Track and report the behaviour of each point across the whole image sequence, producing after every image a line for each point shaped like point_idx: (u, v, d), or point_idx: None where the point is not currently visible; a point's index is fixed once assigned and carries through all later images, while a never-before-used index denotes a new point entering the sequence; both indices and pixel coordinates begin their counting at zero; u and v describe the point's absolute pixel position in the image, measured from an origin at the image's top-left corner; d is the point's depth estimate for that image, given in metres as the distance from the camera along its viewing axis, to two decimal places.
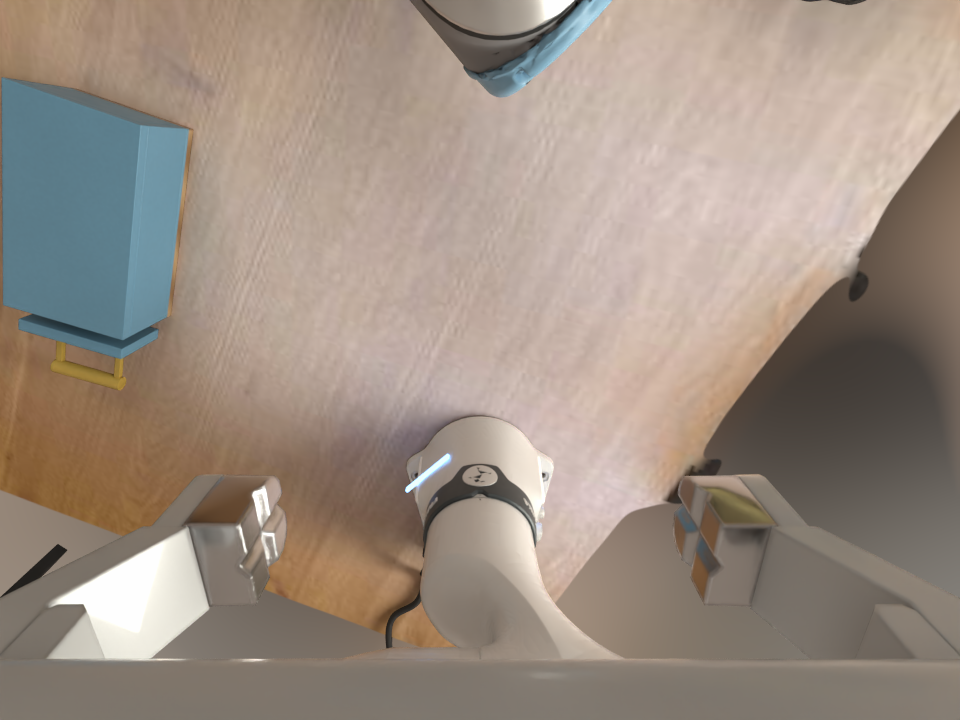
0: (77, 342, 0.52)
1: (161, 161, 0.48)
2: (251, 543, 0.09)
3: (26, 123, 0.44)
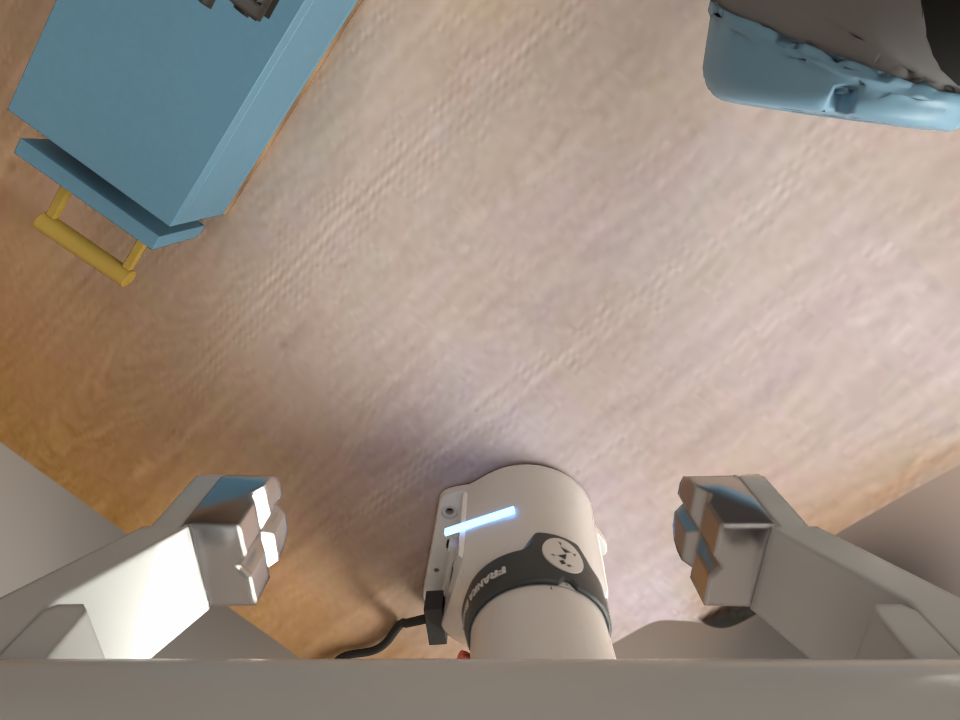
0: (97, 203, 0.35)
1: (327, 8, 0.33)
2: (251, 543, 0.09)
3: None
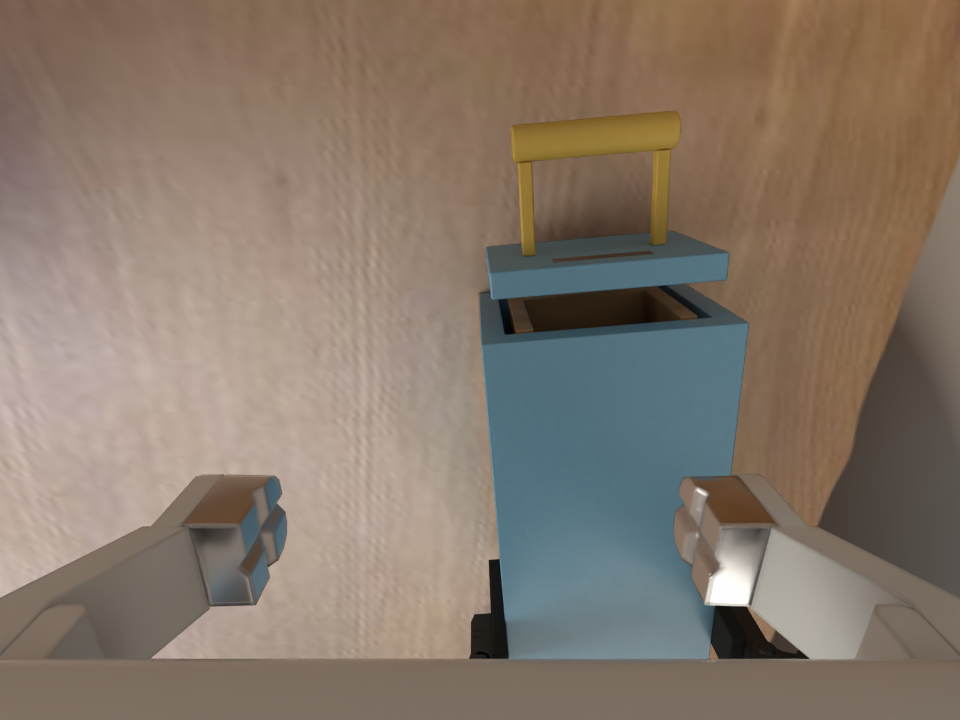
0: (593, 275, 0.22)
1: None
2: (251, 543, 0.09)
3: (676, 631, 0.28)
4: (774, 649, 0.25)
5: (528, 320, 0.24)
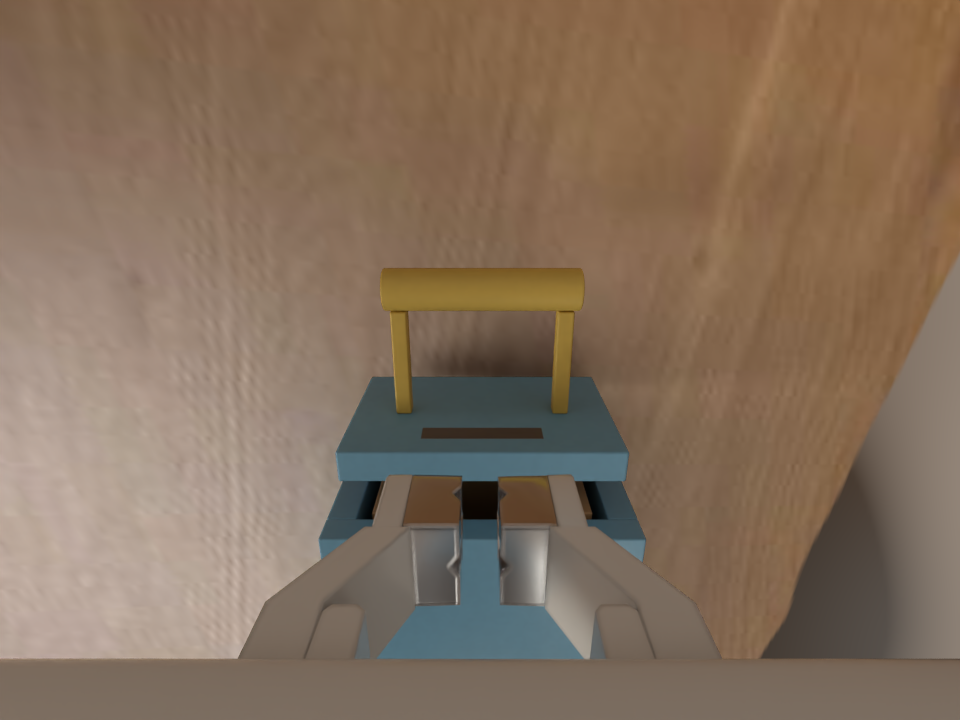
0: (462, 464, 0.18)
1: None
2: (460, 543, 0.09)
3: None
4: None
5: None
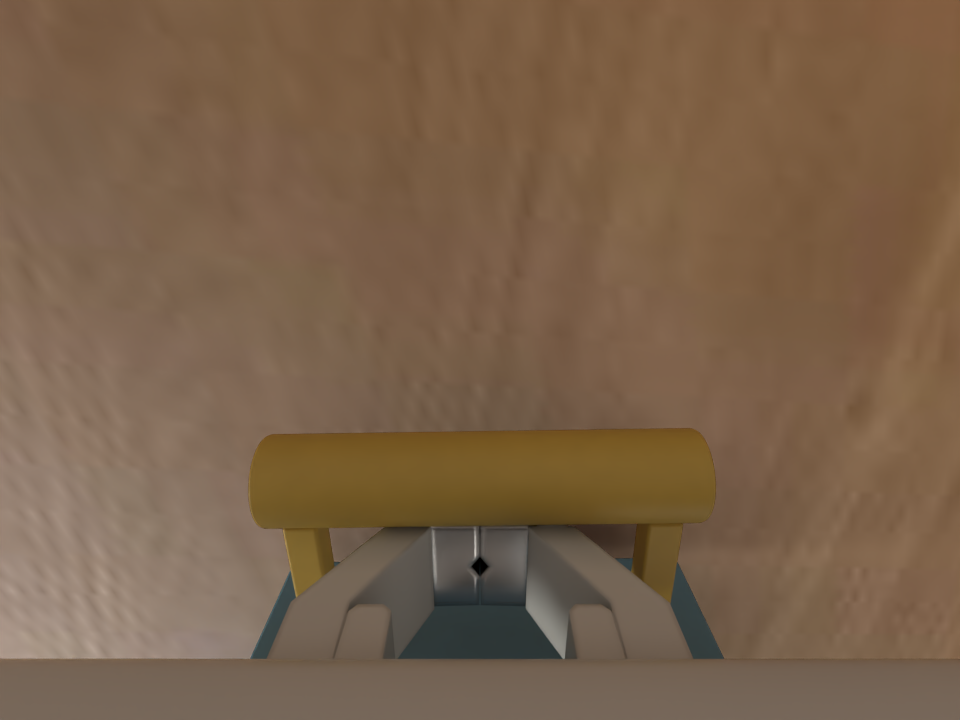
0: None
1: None
2: None
3: None
4: None
5: None
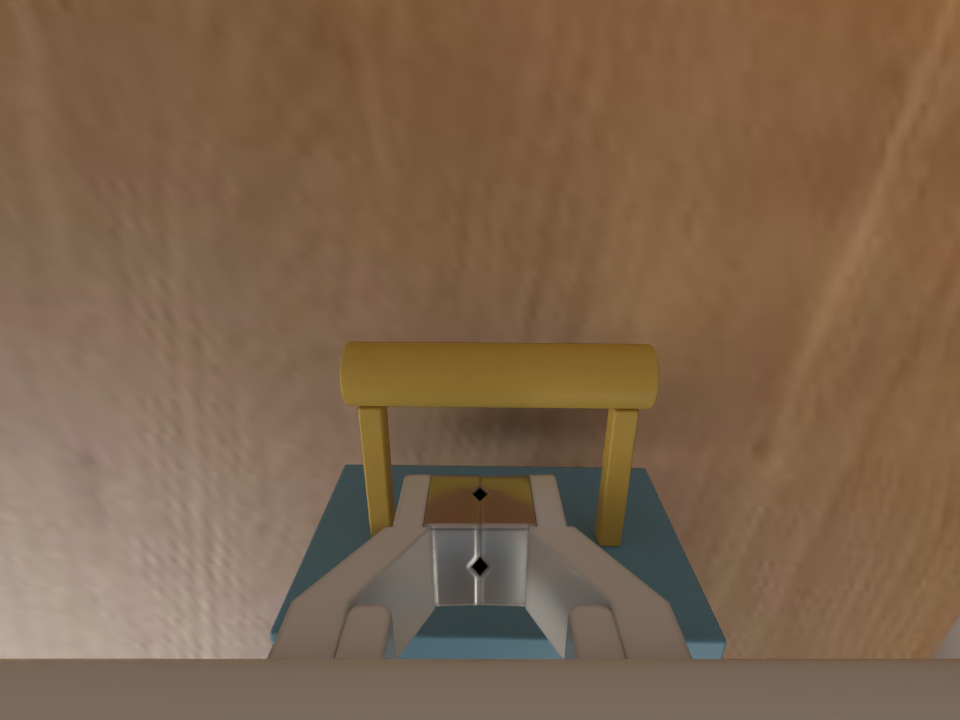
0: (466, 653, 0.11)
1: None
2: None
3: None
4: None
5: None
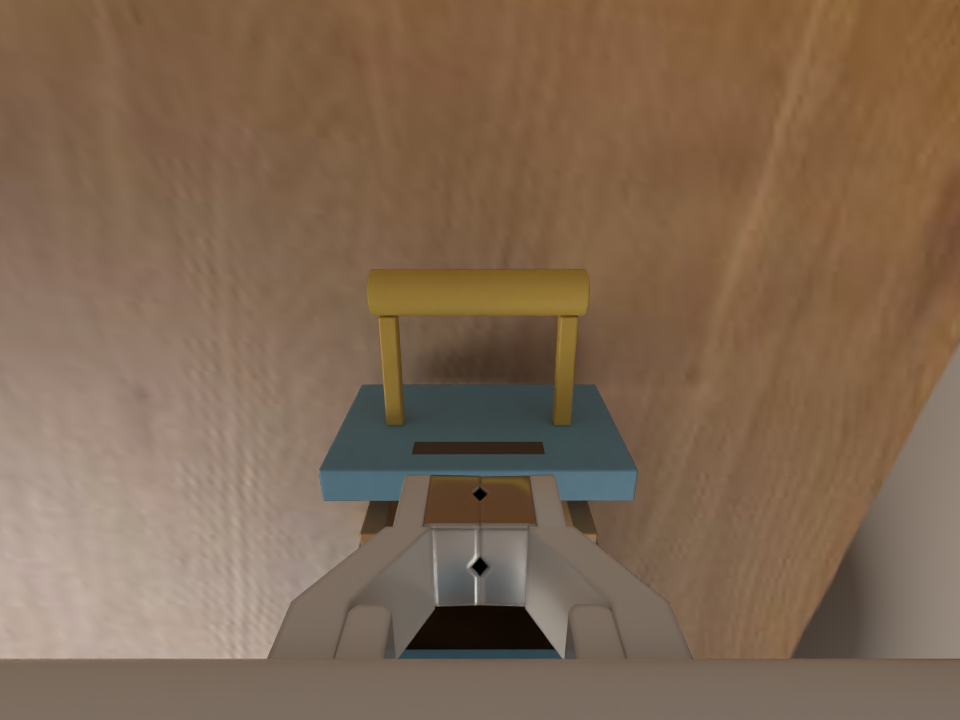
0: None
1: None
2: None
3: None
4: None
5: (386, 508, 0.19)
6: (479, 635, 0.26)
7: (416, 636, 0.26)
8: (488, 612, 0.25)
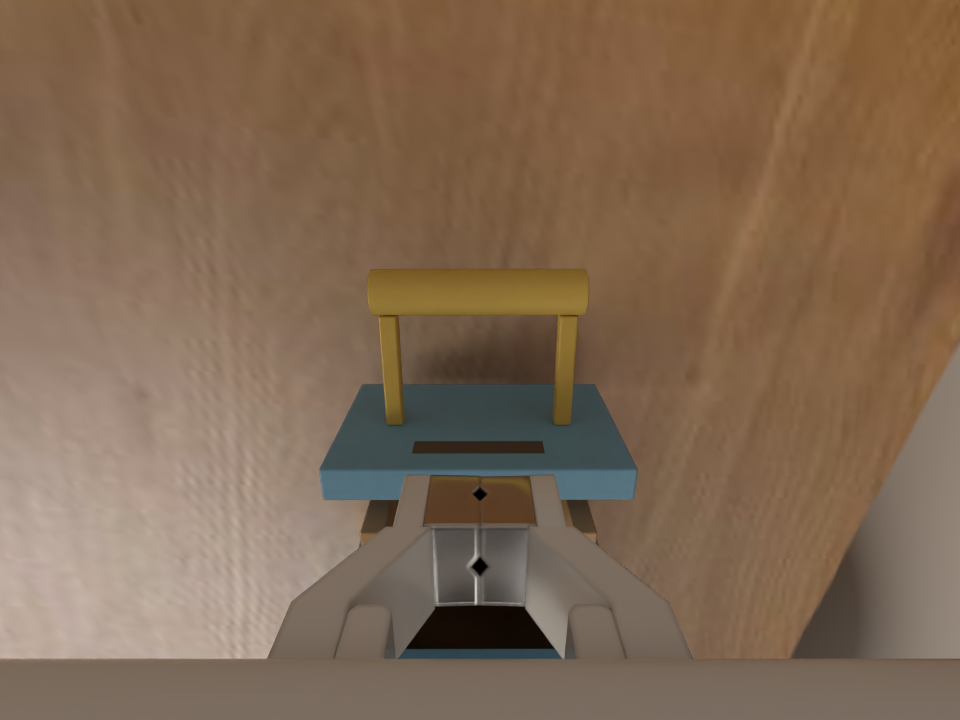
0: None
1: None
2: None
3: None
4: None
5: (386, 508, 0.19)
6: (479, 635, 0.26)
7: (416, 636, 0.26)
8: (488, 612, 0.25)
